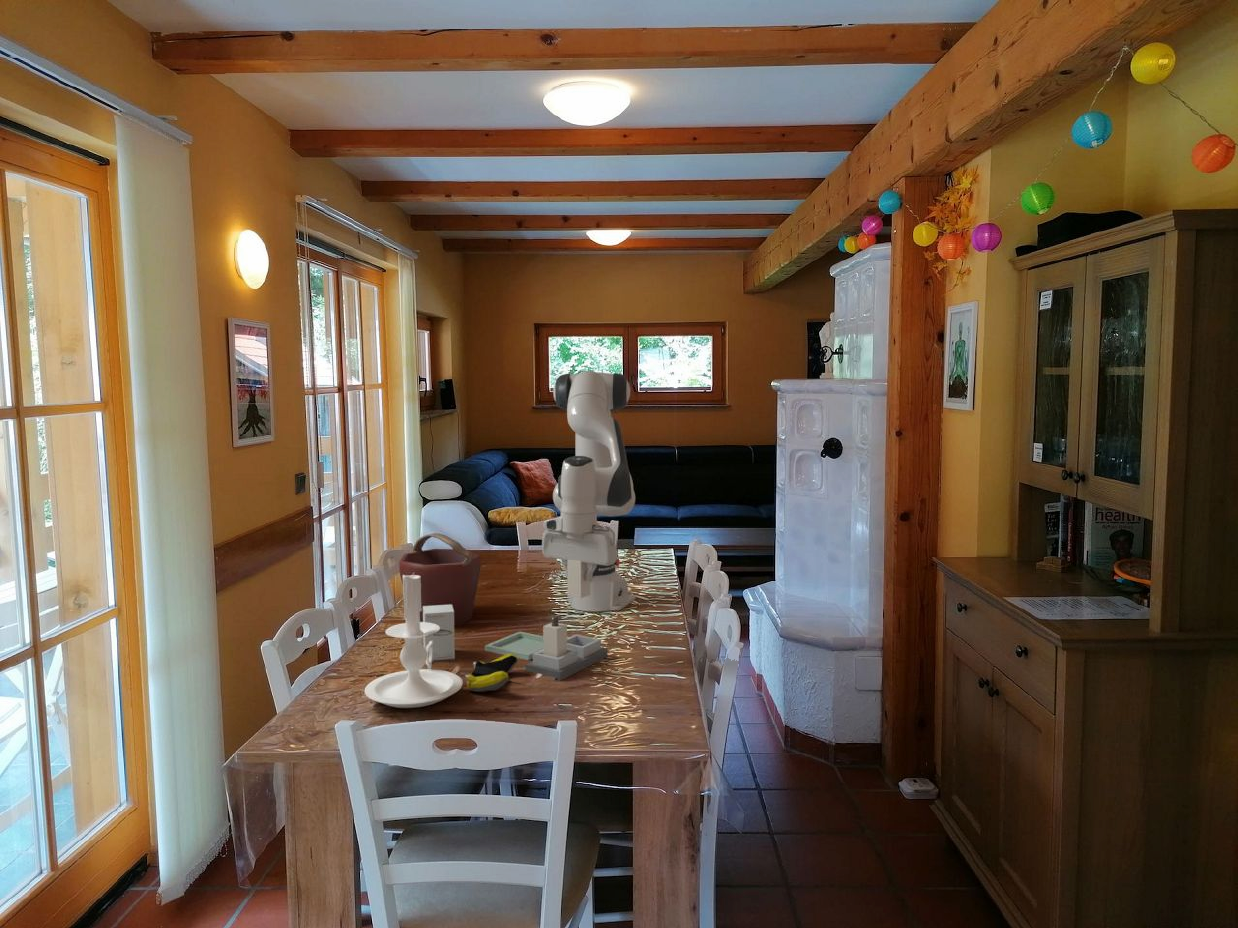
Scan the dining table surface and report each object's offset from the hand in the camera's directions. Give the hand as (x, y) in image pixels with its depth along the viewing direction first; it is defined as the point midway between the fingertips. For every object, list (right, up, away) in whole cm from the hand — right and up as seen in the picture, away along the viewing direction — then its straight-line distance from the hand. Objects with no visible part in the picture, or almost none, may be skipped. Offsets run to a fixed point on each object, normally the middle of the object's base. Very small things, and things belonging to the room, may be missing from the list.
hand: (578, 579), depth 206 cm
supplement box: (-35, -20, +3) cm, 40 cm away
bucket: (-42, -17, +35) cm, 57 cm away
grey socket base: (-3, -20, -2) cm, 21 cm away
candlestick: (-34, -23, -22) cm, 47 cm away
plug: (0, -4, 0) cm, 4 cm away
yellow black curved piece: (-19, -22, -16) cm, 33 cm away
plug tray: (-14, -19, +9) cm, 26 cm away
